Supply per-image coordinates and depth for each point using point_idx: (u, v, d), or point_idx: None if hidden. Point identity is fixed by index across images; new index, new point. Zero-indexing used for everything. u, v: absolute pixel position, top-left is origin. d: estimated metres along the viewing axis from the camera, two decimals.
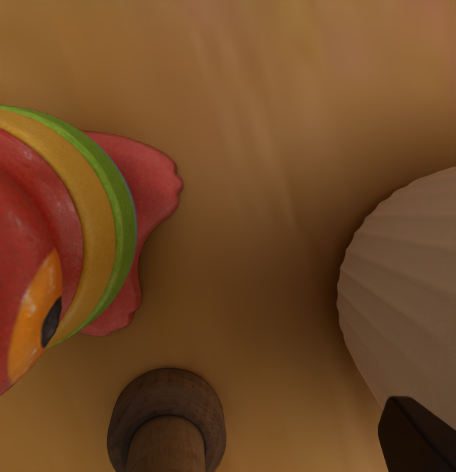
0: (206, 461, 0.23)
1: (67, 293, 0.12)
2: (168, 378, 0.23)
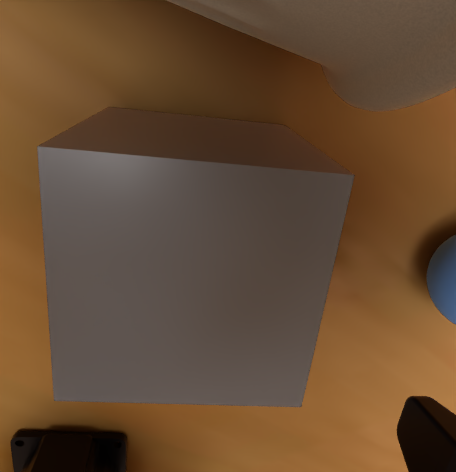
0: None
1: None
2: None
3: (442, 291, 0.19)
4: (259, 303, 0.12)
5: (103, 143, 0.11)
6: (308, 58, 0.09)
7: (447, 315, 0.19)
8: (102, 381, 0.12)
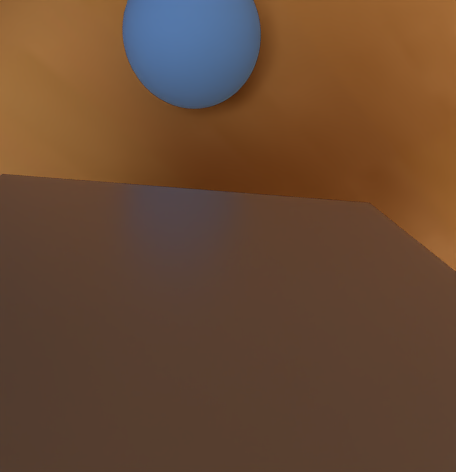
0: None
1: None
2: None
3: None
4: None
5: None
6: None
7: None
8: None
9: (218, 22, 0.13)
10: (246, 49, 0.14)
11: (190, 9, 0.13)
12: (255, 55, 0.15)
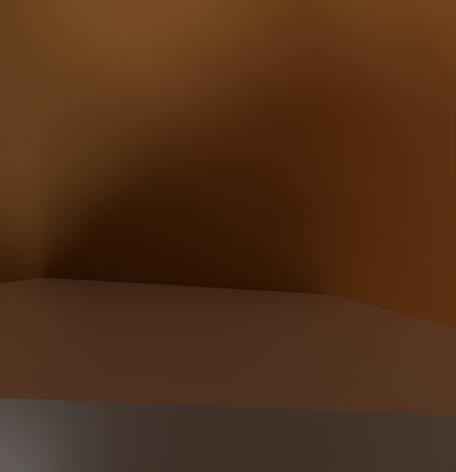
0: None
1: None
2: None
3: None
4: None
5: None
6: None
7: None
8: None
9: None
10: None
11: None
12: None
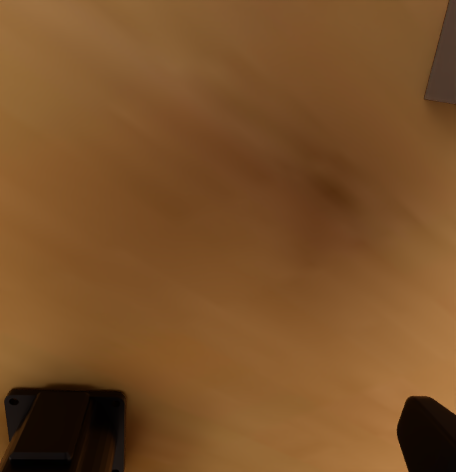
0: None
1: None
2: None
3: None
4: None
5: None
6: None
7: None
8: None
9: None
10: None
11: None
12: None
